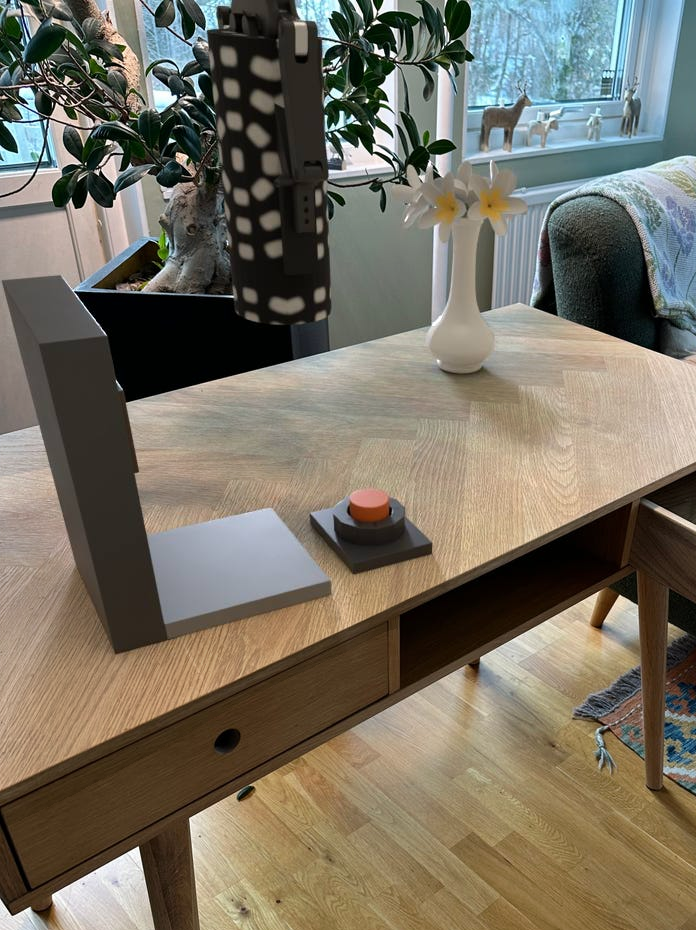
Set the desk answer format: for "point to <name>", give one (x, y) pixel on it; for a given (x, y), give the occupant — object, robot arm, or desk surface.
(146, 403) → the desk surface
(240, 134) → the white-spotted black cylinder
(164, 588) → the grey l-shaped bookend
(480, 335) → the flower vase
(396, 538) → the pad
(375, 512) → the button
